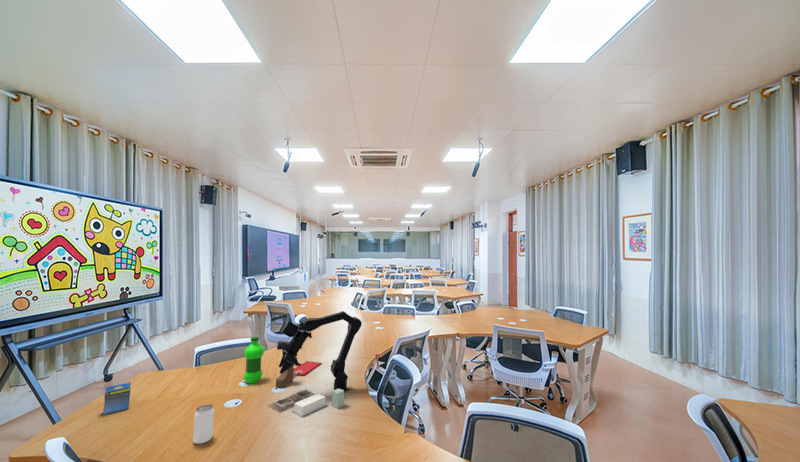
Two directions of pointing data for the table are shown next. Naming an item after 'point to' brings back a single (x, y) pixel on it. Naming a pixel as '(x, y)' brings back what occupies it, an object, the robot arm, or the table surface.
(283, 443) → the table surface
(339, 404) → the peg
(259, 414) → the table surface
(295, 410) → the cover
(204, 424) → the can
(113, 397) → the label tape box
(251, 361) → the plastic bottle
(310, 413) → the board
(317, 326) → the robot arm
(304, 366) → the red board with handle
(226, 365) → the table surface
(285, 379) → the wooden block
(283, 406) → the build board
